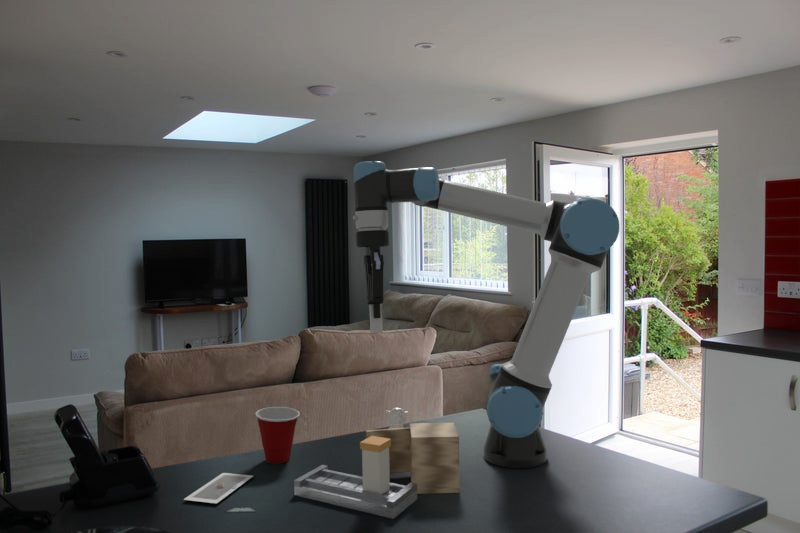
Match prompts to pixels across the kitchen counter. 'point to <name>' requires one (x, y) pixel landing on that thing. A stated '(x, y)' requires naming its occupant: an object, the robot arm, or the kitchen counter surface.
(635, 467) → the kitchen counter surface
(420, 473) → the wooden cabinet
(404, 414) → the sitting furry creature
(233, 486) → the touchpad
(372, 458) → the fader knob
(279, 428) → the plastic cup
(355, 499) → the fader track
